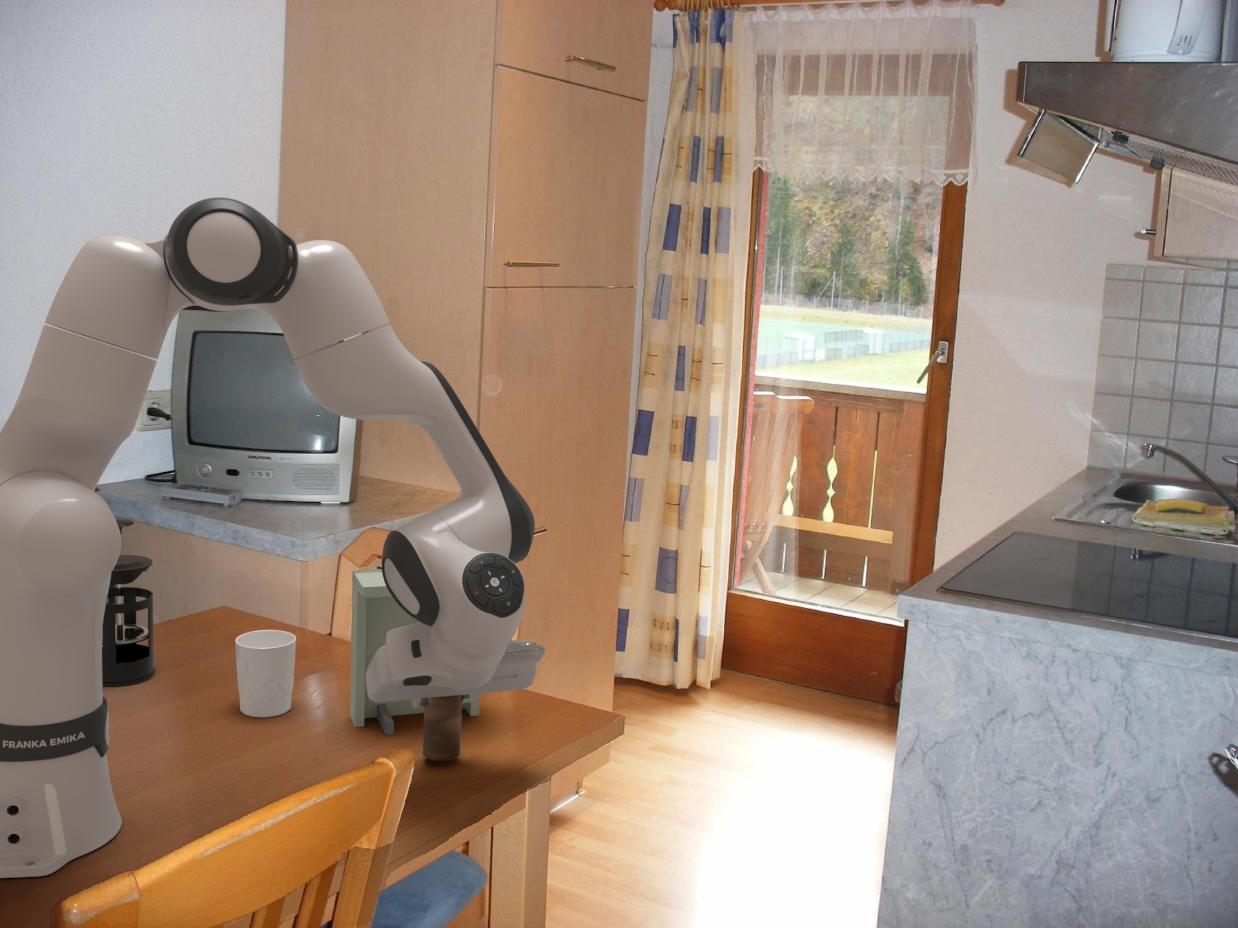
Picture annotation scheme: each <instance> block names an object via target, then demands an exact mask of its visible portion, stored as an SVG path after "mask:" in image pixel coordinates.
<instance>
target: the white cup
mask: <svg viewBox="0 0 1238 928" xmlns="http://www.w3.org/2000/svg"><path fill="white" fill-rule="evenodd" d="M234 642H235V662H236V664H235V665H236V675H237V676H236V677H237V687H238V688H237V690H238V696H239V709H240V710H239V711H240V712H241V713H242V714H244V715H246V716H248V717H252V718H273V717H278V716H280V715H284V714H286V713H288V712H289V711H290V710H291V709H292V695H293V694H292V693H293V689H294V679H295V665H296V664H295V663H296V647H297V646H296V644H297V637H296V635H295V634H293V633H292V632H289V631H285V630H279V629H262V630H253V631H248V632H245V633H241V634H240V635H238V636H236V638H235V641H234Z"/></svg>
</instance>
